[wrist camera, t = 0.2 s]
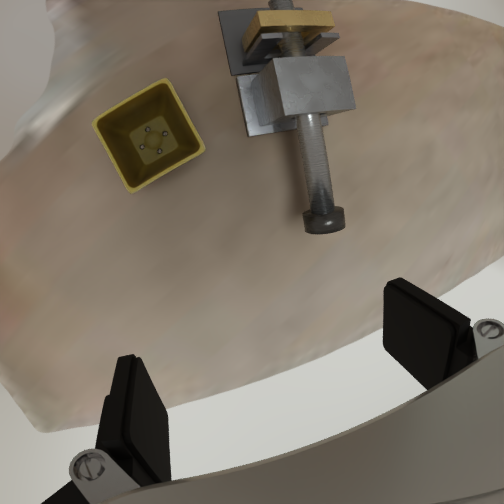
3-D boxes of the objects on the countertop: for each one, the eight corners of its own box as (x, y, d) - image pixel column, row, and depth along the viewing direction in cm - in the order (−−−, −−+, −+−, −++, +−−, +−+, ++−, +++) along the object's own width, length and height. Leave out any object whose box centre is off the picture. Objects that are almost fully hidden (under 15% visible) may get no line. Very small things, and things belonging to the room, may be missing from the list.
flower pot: (202, 153, 38) (208, 150, 29) (141, 189, 37) (129, 196, 29) (170, 94, 35) (167, 75, 26) (109, 130, 34) (89, 121, 26)
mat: (218, 12, 32) (218, 11, 32) (301, 8, 34) (302, 7, 34) (231, 75, 35) (231, 75, 35) (316, 68, 37) (317, 67, 37)
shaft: (255, 10, 29) (265, -8, 25) (292, 9, 30) (306, -7, 26) (299, 228, 38) (314, 237, 33) (334, 219, 39) (353, 227, 34)
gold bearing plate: (241, 38, 32) (257, 10, 25) (303, 35, 34) (330, 11, 26) (244, 52, 33) (261, 26, 25) (306, 48, 34) (335, 26, 26)
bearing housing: (235, 78, 36) (255, 50, 25) (314, 71, 37) (354, 48, 27) (247, 136, 38) (272, 127, 28) (325, 125, 40) (369, 117, 29)
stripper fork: (241, 63, 35) (261, 33, 25) (303, 58, 36) (338, 33, 27) (242, 67, 35) (262, 38, 26) (304, 62, 37) (339, 37, 27)
